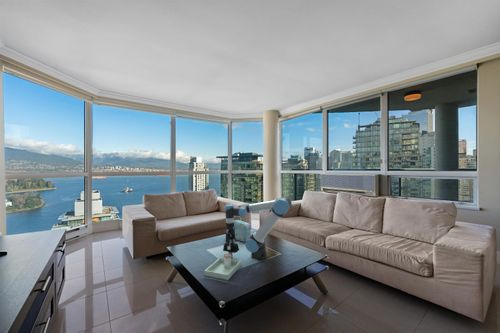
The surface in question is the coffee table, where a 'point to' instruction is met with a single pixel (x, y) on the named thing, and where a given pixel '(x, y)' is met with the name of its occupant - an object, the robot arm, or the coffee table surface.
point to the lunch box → (242, 230)
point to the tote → (222, 269)
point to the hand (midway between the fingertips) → (231, 247)
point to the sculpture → (233, 246)
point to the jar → (227, 260)
